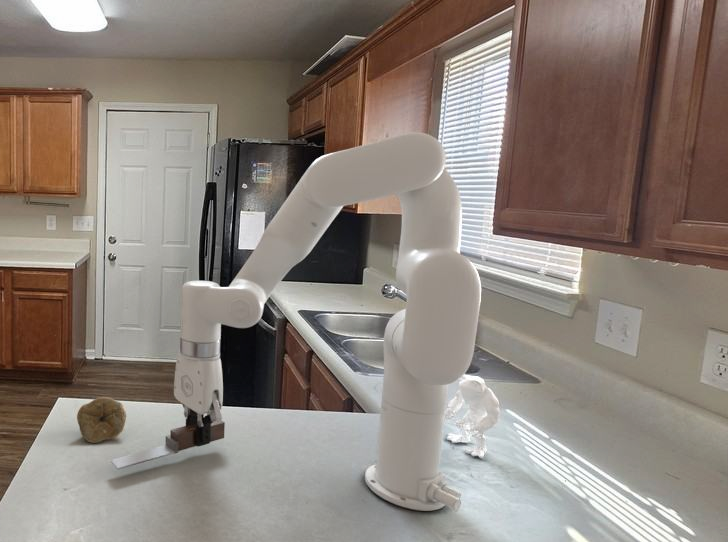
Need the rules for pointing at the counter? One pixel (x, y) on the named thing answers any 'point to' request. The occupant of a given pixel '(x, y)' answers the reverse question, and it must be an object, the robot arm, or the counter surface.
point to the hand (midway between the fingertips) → (197, 440)
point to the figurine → (474, 412)
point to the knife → (170, 445)
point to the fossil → (101, 419)
